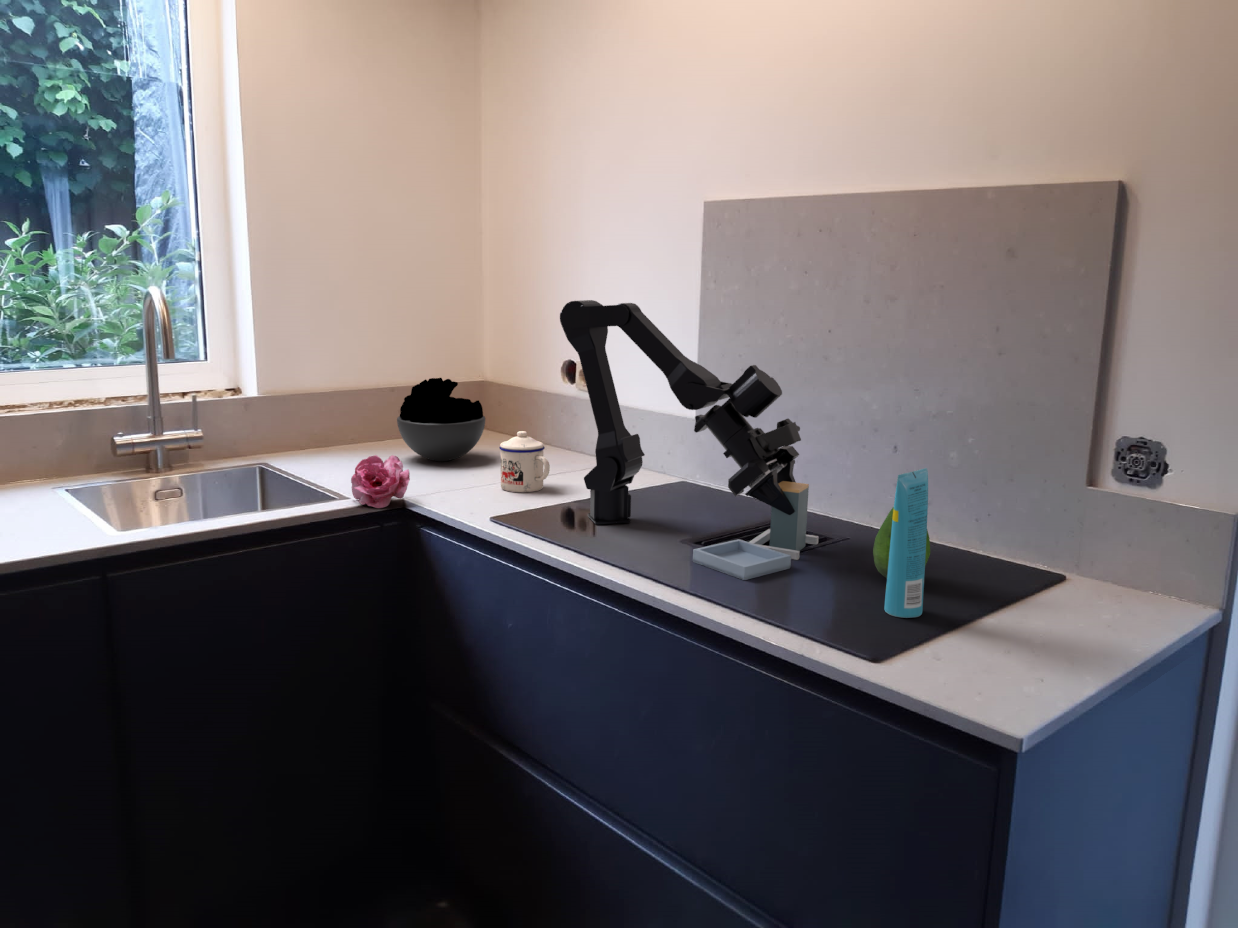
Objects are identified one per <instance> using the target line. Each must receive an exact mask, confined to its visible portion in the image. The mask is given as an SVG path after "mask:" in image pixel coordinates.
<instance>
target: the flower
mask: <svg viewBox="0 0 1238 928" xmlns="http://www.w3.org/2000/svg"><path fill="white" fill-rule="evenodd" d="M410 479H411V478H410V470H409V468H407V469H405V470H404V464H403V462H402V460H401V459H400V458H399V456H396V455H394V454H392V455H390V456H389V457H388V458H386V459H385V460H384V461H383V459H382V458H381V457H380V456H378V455H377V454H375V455H370V456H368V457H367V458H364V459H361V460H360V461H359V462H358V464H356V466H355V468H354V474H352V476H351V479H350V483H351V493H352V496H353V498H355V499H356V500H358V499H359V500H358V501H359V504H361V505H367V506H368V507H373V508H376V509H383V508H386V507H388V506H389V505H390V503H391V501H392V499H393V497H395V498H397V499H399V500H400V499H404V496H405V494H406V492H407V489H408V486H409V483H410Z"/></svg>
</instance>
